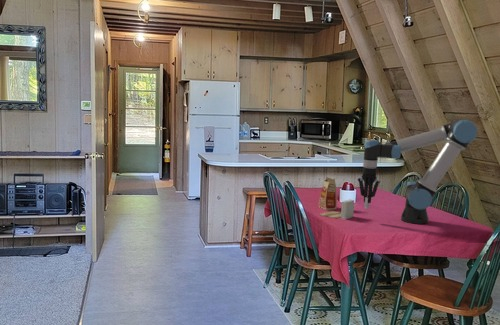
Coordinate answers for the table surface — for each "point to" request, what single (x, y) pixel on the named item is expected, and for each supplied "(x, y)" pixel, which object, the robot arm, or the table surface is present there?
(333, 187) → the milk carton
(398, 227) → the table surface
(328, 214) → the cork mat
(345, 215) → the tile
